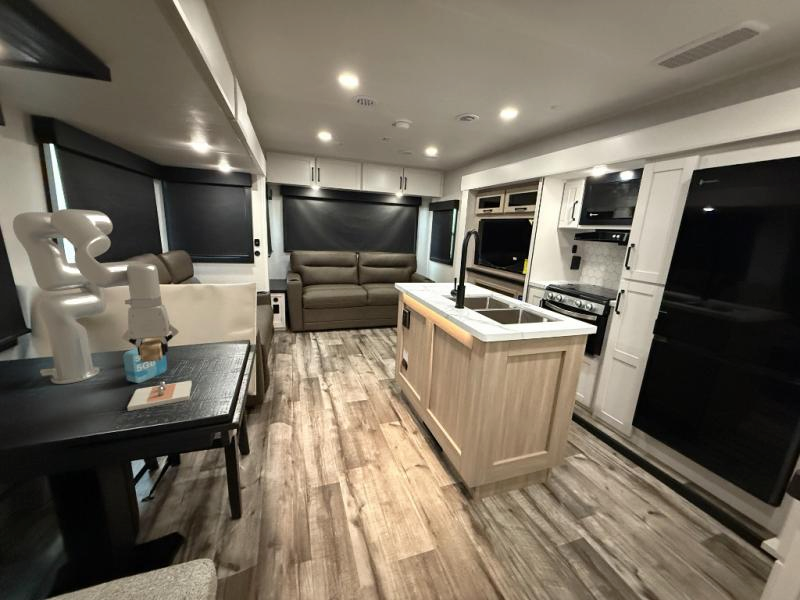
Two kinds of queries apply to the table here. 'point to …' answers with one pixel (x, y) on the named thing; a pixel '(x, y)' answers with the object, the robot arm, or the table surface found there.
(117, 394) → the table surface
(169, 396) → the plate
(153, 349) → the tan cardboard box
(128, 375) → the data package
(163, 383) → the pins
